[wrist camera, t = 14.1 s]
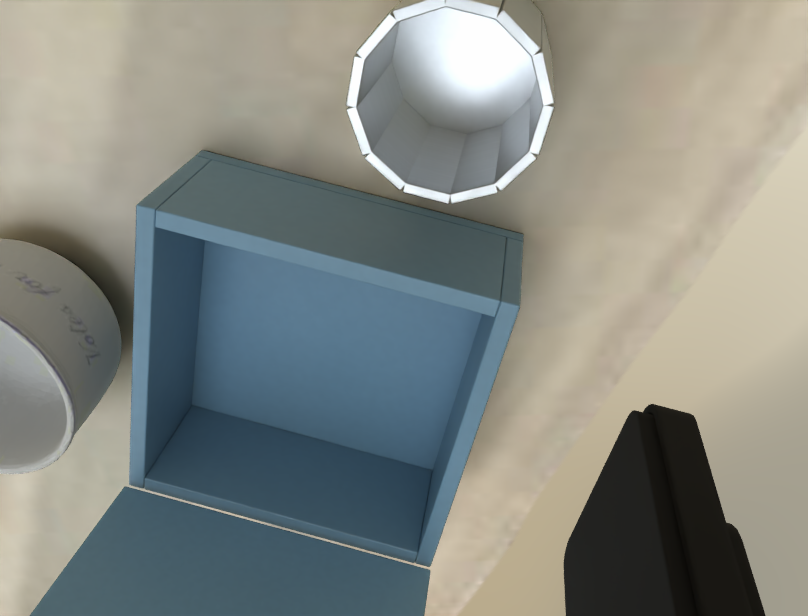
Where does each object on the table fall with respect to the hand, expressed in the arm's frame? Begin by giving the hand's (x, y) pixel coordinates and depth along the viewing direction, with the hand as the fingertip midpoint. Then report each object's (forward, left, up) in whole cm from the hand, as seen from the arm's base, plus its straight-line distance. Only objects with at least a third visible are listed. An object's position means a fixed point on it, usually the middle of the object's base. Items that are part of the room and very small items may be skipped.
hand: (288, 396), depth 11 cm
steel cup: (0, +1, -24) cm, 24 cm away
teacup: (+18, -20, -25) cm, 36 cm away
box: (+15, -3, -24) cm, 29 cm away
